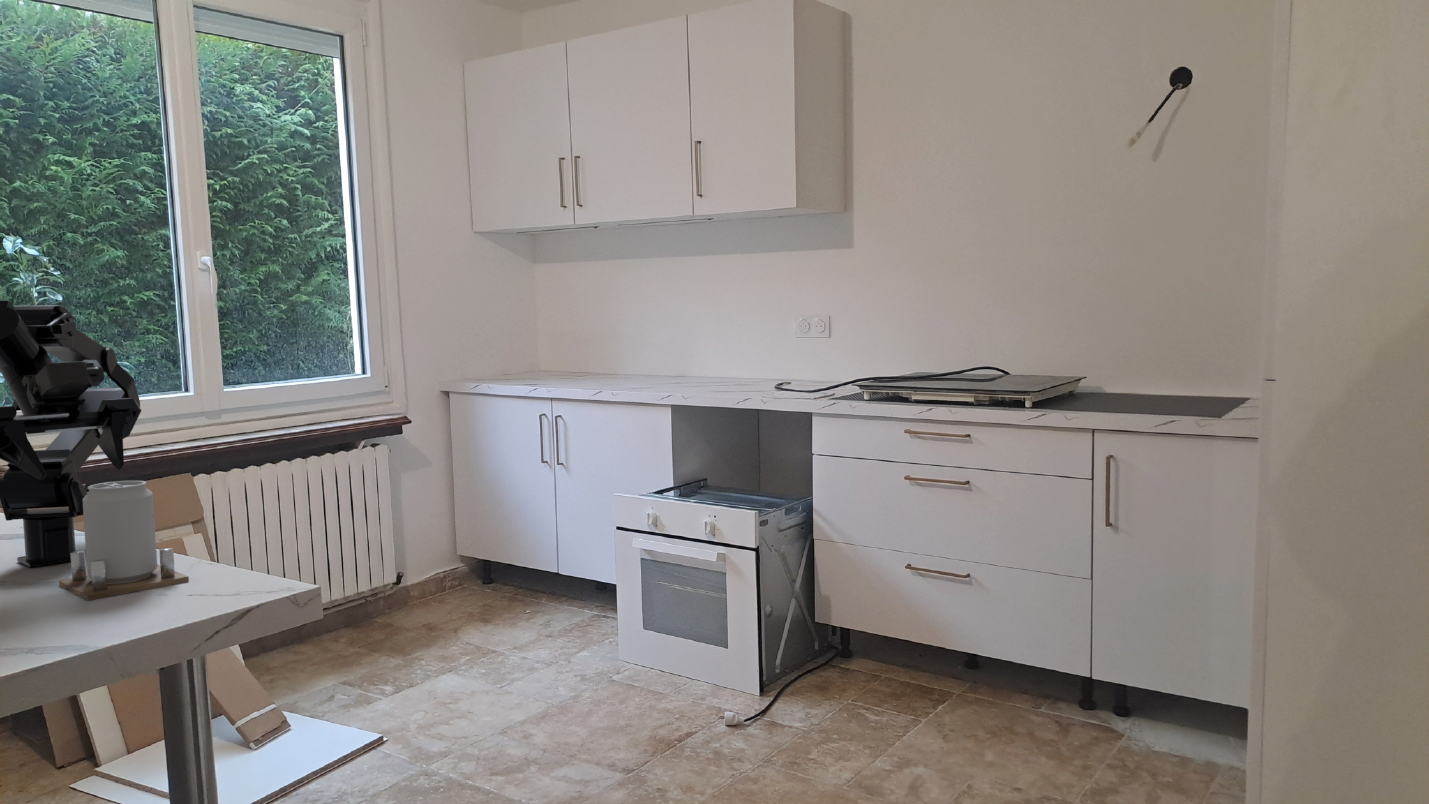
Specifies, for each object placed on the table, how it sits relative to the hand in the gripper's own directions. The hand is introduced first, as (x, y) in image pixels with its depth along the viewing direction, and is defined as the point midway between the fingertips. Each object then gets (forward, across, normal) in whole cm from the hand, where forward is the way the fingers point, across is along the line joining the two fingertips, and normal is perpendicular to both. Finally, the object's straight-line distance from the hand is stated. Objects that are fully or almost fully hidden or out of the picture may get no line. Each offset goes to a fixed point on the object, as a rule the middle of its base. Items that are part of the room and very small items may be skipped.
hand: (83, 472), depth 123 cm
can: (+14, +1, +5) cm, 15 cm away
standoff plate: (+14, +1, +5) cm, 15 cm away
